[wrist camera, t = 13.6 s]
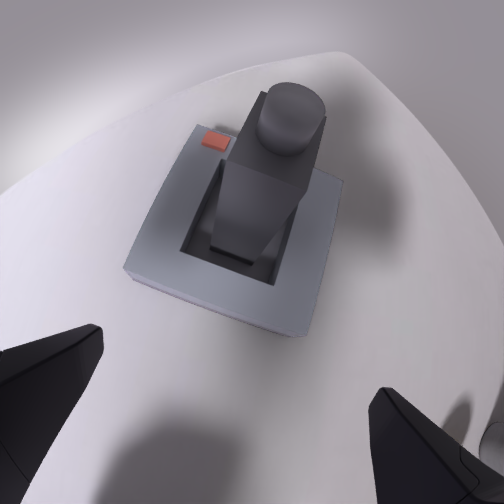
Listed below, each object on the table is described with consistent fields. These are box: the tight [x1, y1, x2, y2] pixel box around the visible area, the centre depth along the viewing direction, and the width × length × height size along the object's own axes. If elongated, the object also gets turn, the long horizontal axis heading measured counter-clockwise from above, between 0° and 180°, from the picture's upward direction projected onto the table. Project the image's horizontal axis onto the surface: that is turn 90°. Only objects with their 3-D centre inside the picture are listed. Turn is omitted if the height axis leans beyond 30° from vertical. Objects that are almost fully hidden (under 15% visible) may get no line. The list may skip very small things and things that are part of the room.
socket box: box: [123, 124, 343, 337], centre depth 21 cm, size 12×12×4 cm
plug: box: [209, 82, 326, 266], centre depth 16 cm, size 4×3×13 cm
